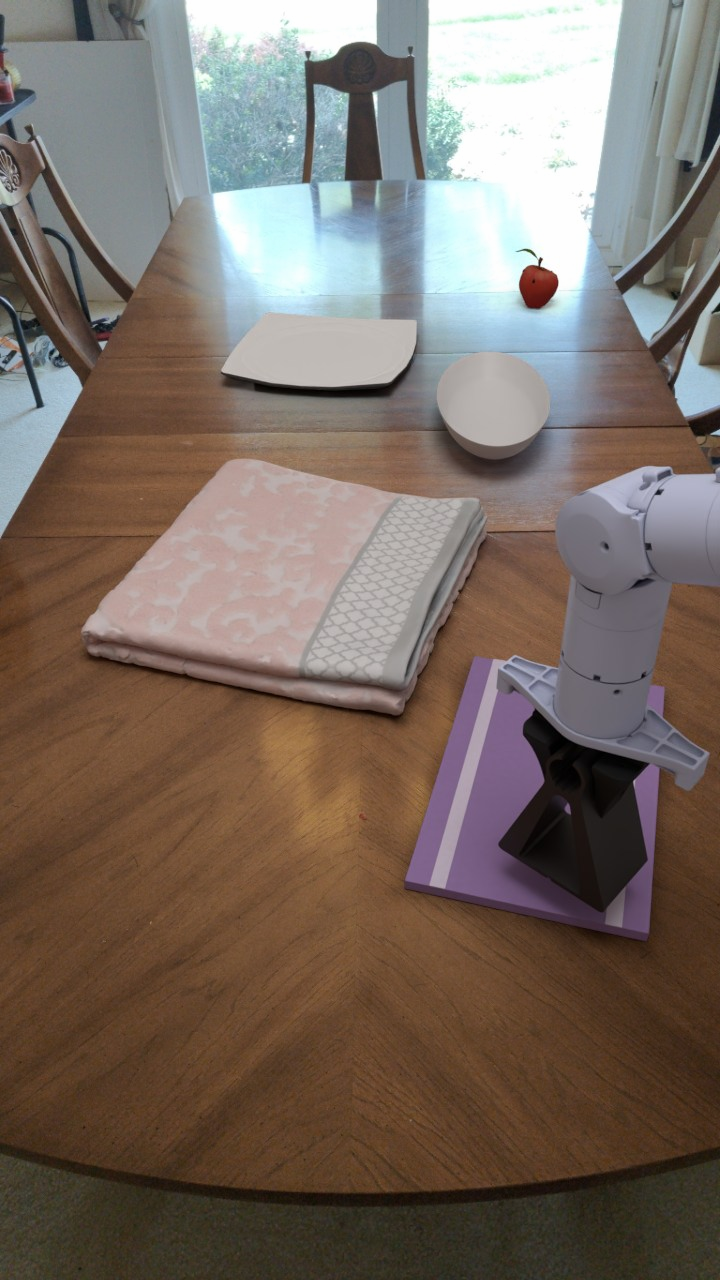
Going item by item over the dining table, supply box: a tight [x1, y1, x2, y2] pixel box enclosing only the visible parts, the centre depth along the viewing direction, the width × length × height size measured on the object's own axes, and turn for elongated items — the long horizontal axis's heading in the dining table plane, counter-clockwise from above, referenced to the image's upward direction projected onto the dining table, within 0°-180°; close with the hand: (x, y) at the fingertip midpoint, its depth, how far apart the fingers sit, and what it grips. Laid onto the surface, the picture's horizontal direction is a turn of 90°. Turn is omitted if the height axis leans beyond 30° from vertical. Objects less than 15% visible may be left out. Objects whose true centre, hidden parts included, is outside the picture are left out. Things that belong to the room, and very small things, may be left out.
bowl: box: [436, 350, 551, 460], centre depth 133 cm, size 30×15×6 cm, turn 176°
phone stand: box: [498, 740, 648, 913], centre depth 68 cm, size 9×6×12 cm, turn 47°
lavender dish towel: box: [404, 655, 666, 942], centre depth 83 cm, size 28×18×1 cm, turn 164°
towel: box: [80, 458, 489, 716], centre depth 105 cm, size 36×34×6 cm
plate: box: [220, 311, 418, 392], centre depth 156 cm, size 29×29×3 cm
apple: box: [515, 248, 559, 310], centre depth 172 cm, size 8×7×10 cm
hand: (581, 805), depth 69 cm, fingers closed on phone stand, 3 cm apart
